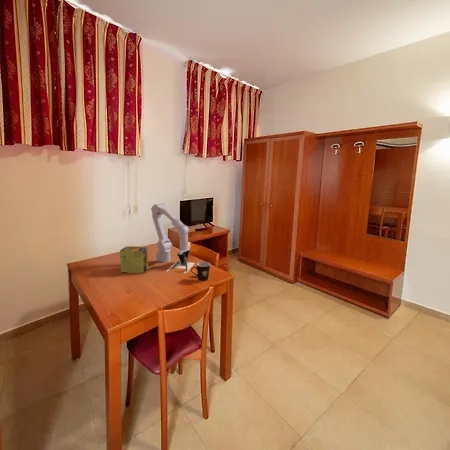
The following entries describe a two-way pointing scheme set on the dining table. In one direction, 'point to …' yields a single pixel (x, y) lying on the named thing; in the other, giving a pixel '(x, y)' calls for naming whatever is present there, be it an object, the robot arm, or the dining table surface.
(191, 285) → the dining table surface
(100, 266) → the dining table surface
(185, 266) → the shelf board
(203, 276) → the coffee mug
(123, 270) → the protein box
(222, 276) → the dining table surface
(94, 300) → the dining table surface
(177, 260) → the cord run
